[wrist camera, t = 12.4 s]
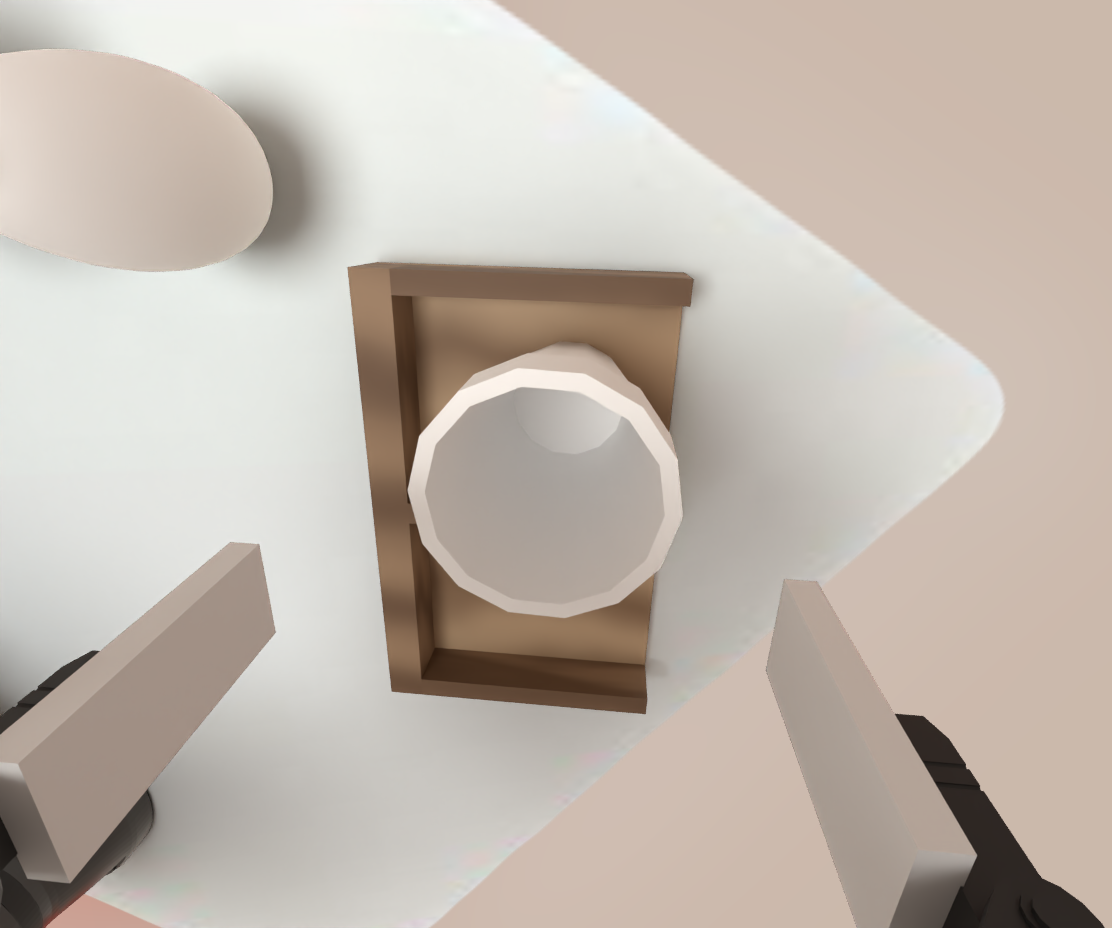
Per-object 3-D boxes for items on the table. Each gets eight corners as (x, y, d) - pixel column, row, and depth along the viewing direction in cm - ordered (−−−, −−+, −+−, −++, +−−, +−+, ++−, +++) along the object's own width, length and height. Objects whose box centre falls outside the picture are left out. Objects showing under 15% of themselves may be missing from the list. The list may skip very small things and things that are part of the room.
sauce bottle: (182, 259, 32) (-283, 298, 15) (148, 91, 29) (-476, -84, 12) (321, 264, 31) (-6, 310, 15) (301, 93, 28) (-138, -88, 12)
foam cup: (621, 498, 34) (626, 647, 22) (468, 451, 34) (389, 576, 22) (681, 341, 30) (725, 418, 18) (510, 286, 30) (441, 328, 18)
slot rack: (642, 670, 40) (645, 714, 36) (410, 651, 41) (391, 691, 37) (683, 272, 30) (693, 279, 26) (377, 262, 31) (347, 267, 28)
